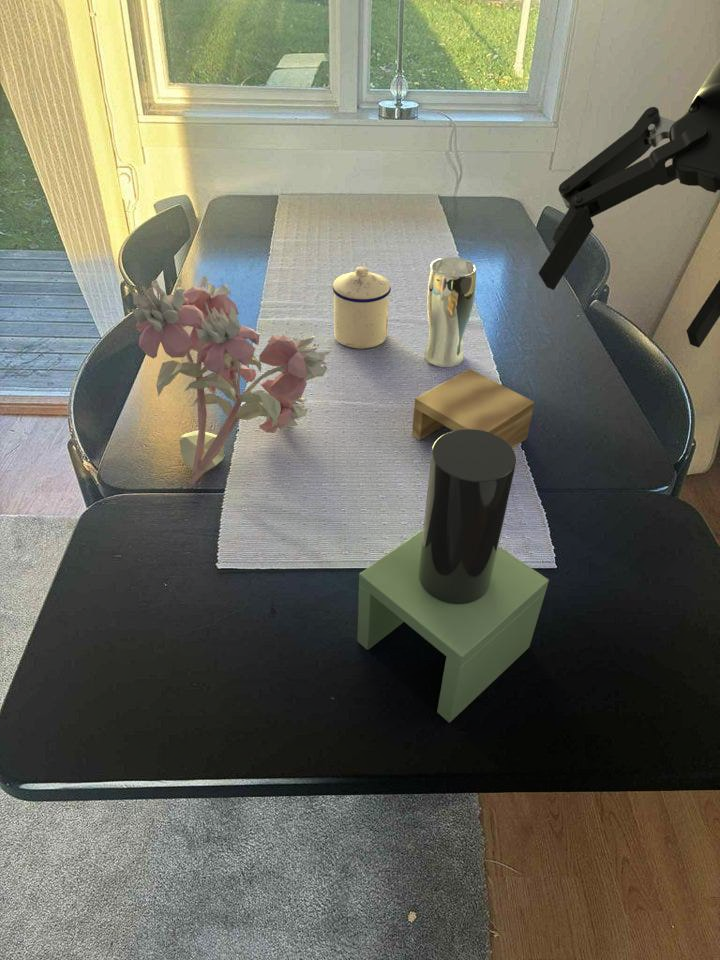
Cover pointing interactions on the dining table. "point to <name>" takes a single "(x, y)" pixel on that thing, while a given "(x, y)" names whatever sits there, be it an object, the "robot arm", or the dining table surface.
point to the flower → (223, 364)
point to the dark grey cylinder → (464, 513)
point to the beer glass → (449, 309)
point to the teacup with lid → (361, 308)
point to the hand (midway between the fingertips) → (614, 309)
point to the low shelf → (473, 408)
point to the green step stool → (454, 619)
